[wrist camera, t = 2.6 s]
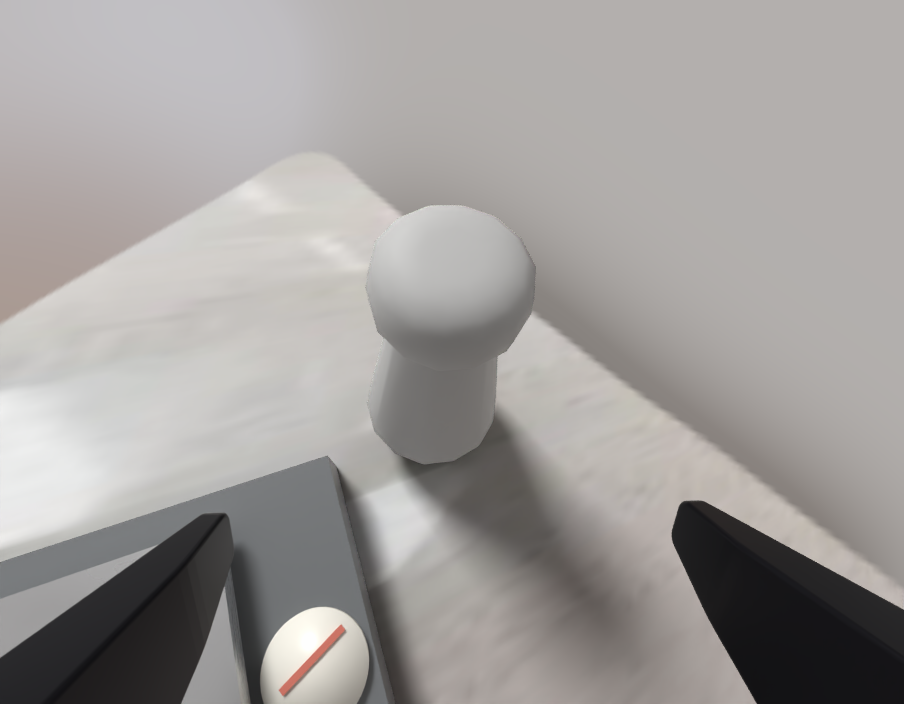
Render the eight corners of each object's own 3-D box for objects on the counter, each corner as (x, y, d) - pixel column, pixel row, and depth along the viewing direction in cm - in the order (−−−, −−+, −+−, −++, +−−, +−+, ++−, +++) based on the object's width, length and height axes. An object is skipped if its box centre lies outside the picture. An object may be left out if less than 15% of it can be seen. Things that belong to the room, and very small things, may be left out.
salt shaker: (500, 384, 23) (602, 209, 11) (465, 490, 20) (548, 412, 8) (398, 346, 23) (389, 137, 11) (351, 446, 21) (279, 312, 9)
